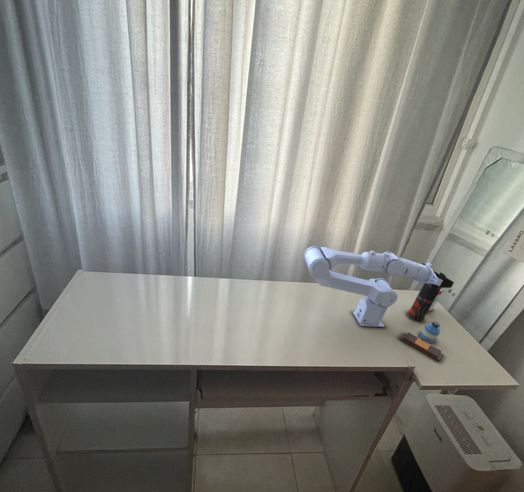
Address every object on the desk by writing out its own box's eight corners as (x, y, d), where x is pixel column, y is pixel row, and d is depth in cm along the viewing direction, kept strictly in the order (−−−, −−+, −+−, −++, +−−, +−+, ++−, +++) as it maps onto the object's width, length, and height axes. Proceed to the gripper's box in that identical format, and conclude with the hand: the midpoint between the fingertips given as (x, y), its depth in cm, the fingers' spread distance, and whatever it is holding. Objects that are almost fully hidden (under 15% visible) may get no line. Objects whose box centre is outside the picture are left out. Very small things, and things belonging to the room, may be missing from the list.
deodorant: (424, 323, 124) (443, 291, 115) (408, 319, 124) (426, 286, 116) (420, 314, 129) (438, 283, 120) (406, 310, 129) (423, 279, 121)
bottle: (425, 342, 113) (434, 327, 109) (417, 333, 117) (426, 318, 113) (437, 343, 114) (446, 328, 110) (429, 334, 118) (438, 319, 114)
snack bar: (399, 339, 112) (401, 335, 111) (404, 334, 115) (406, 330, 114) (438, 361, 105) (440, 357, 104) (441, 355, 108) (444, 352, 107)
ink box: (432, 309, 134) (450, 280, 126) (422, 313, 130) (440, 283, 122) (424, 304, 136) (441, 275, 128) (414, 308, 132) (431, 278, 124)
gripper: (432, 266, 99) (465, 277, 103) (406, 253, 112) (437, 263, 116) (420, 286, 102) (453, 296, 105) (397, 271, 115) (427, 280, 118)
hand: (444, 280), depth 111 cm, fingers open, 7 cm apart
